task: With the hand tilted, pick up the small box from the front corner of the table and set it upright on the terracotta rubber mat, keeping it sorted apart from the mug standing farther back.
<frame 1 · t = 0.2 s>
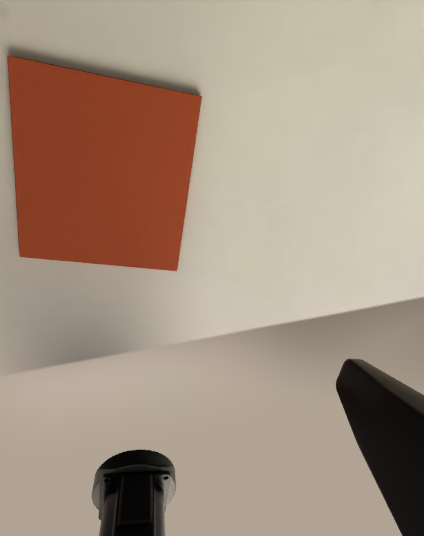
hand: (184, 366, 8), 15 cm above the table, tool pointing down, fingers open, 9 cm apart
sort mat: (106, 179, 20), on the table
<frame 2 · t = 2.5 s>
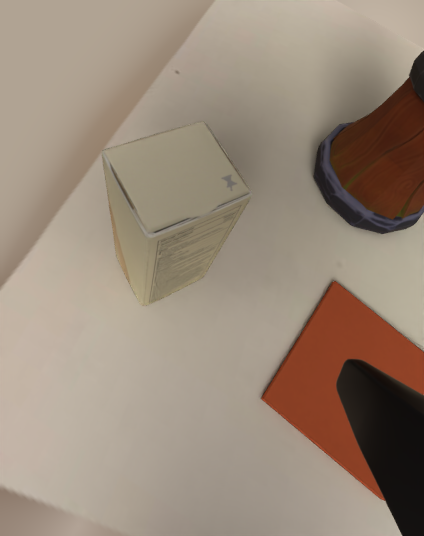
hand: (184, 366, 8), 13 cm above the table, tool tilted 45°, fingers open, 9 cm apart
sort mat: (353, 378, 23), on the table
mug: (369, 162, 33), on the table
box: (159, 269, 23), on the table
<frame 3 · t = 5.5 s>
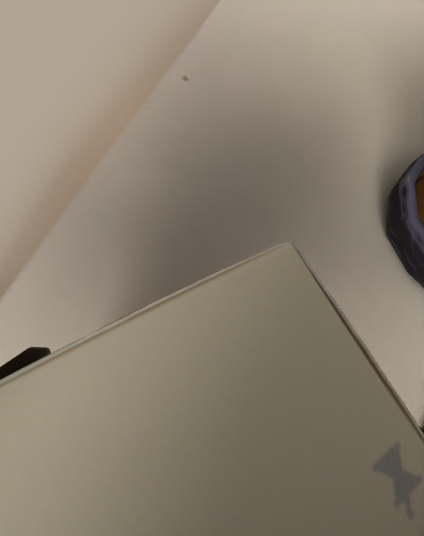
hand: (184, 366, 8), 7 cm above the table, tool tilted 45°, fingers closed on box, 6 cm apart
box: (158, 413, 14), on the table, touching gripper
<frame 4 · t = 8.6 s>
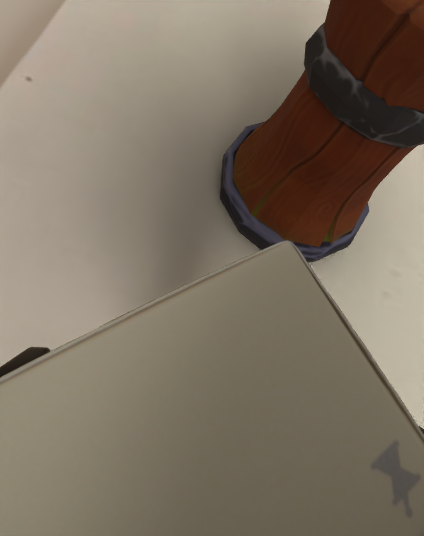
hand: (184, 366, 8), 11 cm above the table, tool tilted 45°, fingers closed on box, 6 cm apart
mug: (294, 168, 26), on the table
box: (158, 413, 14), point 4 cm above the table, touching gripper
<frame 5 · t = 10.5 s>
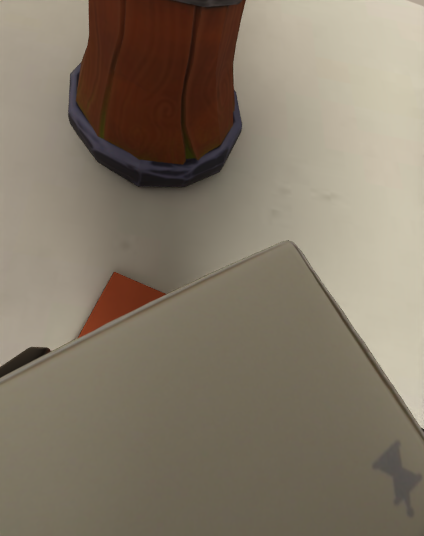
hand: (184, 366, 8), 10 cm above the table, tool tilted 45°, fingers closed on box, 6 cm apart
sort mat: (155, 403, 17), on the table
mug: (166, 94, 24), on the table
box: (158, 412, 14), point 3 cm above the table, touching gripper
when the fingers open (7 cm above the table, at t = 11.9 s): box stays where it is, resting on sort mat.
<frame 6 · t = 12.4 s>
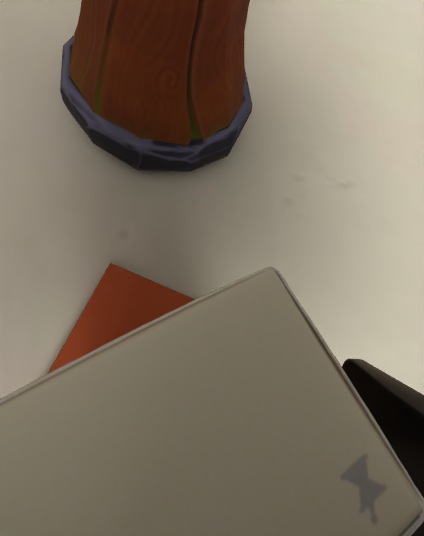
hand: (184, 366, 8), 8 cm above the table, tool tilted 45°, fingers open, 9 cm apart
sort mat: (157, 413, 14), on the table
mug: (169, 74, 22), on the table
box: (155, 417, 14), resting on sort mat
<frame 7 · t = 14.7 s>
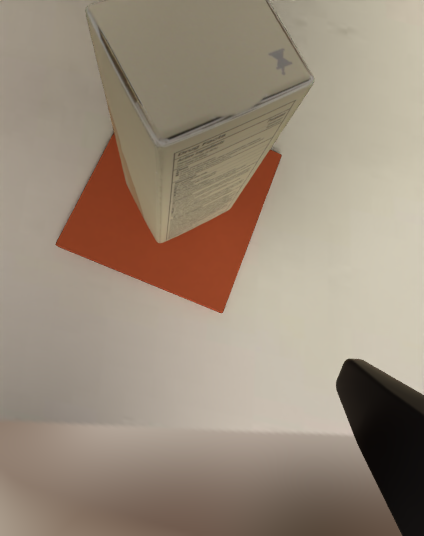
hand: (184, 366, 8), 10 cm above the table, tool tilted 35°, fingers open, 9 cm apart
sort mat: (178, 198, 20), on the table
box: (177, 199, 19), resting on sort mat
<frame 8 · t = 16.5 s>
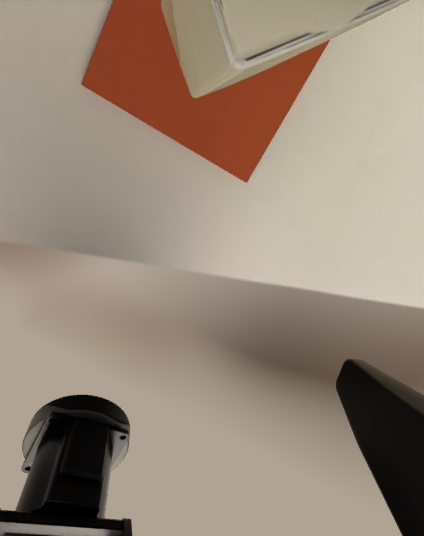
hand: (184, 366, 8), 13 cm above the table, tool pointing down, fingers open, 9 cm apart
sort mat: (220, 36, 16), on the table
box: (219, 39, 16), resting on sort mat
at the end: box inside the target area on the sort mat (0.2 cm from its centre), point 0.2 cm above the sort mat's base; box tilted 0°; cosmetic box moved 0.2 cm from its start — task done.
